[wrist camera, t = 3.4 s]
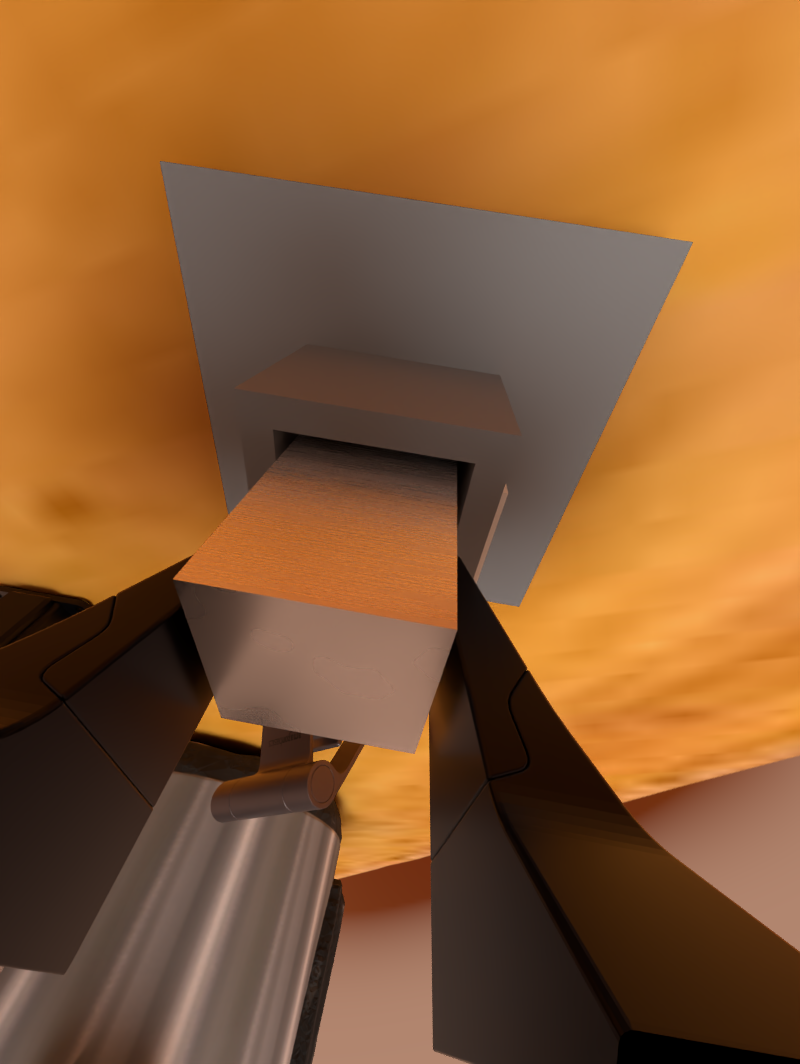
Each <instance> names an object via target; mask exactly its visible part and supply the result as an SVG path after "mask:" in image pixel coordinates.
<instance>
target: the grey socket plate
mask: <svg viewBox="0 0 800 1064" xmlns="http://www.w3.org/2000/svg"><path fill="white" fill-rule="evenodd" d="M160 165H161V170H162V175H163V180H164V185H165V190H166V196H167V201H168V206H169V211H170V216H171V221H172V226H173V232H174V237H175V242H176V247H177V252H178V257H179V262H180V268H181V273H182V278H183V283H184V288H185V293H186V298H187V304H188V309H189V314H190V319H191V324H192V329H193V334H194V339H195V345H196V350H197V355H198V360H199V365H200V370H201V375H202V381H203V386H204V391H205V396H206V401H207V406H208V411H209V417H210V422H211V427H212V432H213V437H214V442H215V447H216V453H217V458H218V463H219V468H220V473H221V478H222V483H223V489H224V494H225V499H226V504H227V509H228V514H230V513H231V512H232V511H233V509H234V508H235V507H236V506H237V505H238V504H239V503H240V501H241V500H242V499H243V498H244V497H245V496H246V495H247V493H248V492H249V491H250V490H251V489H252V488H253V486H254V485H255V484H256V483H257V482H258V481H259V480H260V478H261V477H262V476H263V475H264V474H265V473H266V472H267V470H268V469H269V468H270V467H271V466H272V465H273V464H274V462H275V461H276V460H277V459H278V458H279V457H280V456H281V454H282V453H283V452H284V451H285V450H286V449H287V448H288V446H289V445H290V444H291V443H292V442H293V441H294V440H295V438H296V437H297V436H298V435H299V434H302V435H308V436H314V437H320V438H326V439H332V440H338V441H344V442H350V443H356V444H362V445H368V446H374V447H380V448H385V449H391V450H397V451H403V452H409V453H415V454H421V455H427V456H433V457H439V458H445V459H451V460H457V556H459V557H460V558H461V559H462V561H463V563H464V564H465V566H466V568H467V569H468V571H469V573H470V574H471V576H472V578H473V579H474V581H475V583H476V584H477V586H478V587H479V589H480V591H481V592H482V594H483V596H484V597H485V599H486V601H490V602H495V603H501V604H507V605H512V606H518V607H519V606H520V604H521V602H522V599H523V597H524V595H525V593H526V591H527V589H528V587H529V585H530V583H531V581H532V578H533V576H534V574H535V572H536V570H537V568H538V566H539V564H540V562H541V560H542V558H543V555H544V553H545V551H546V549H547V547H548V545H549V543H550V541H551V539H552V537H553V534H554V532H555V530H556V528H557V526H558V524H559V522H560V520H561V518H562V516H563V514H564V511H565V509H566V507H567V505H568V503H569V501H570V499H571V497H572V495H573V493H574V490H575V488H576V486H577V484H578V482H579V480H580V478H581V476H582V474H583V472H584V470H585V467H586V465H587V463H588V461H589V459H590V457H591V455H592V453H593V451H594V449H595V446H596V444H597V442H598V440H599V438H600V436H601V434H602V432H603V430H604V428H605V426H606V423H607V421H608V419H609V417H610V415H611V413H612V411H613V409H614V407H615V405H616V402H617V400H618V398H619V396H620V394H621V392H622V390H623V388H624V386H625V384H626V382H627V379H628V377H629V375H630V373H631V371H632V369H633V367H634V365H635V363H636V361H637V358H638V356H639V354H640V352H641V350H642V348H643V346H644V344H645V342H646V340H647V338H648V335H649V333H650V331H651V329H652V327H653V325H654V323H655V321H656V319H657V317H658V314H659V312H660V310H661V308H662V306H663V304H664V302H665V300H666V298H667V296H668V294H669V291H670V289H671V287H672V285H673V283H674V281H675V279H676V277H677V275H678V273H679V271H680V268H681V266H682V264H683V262H684V260H685V258H686V256H687V254H688V252H689V250H690V247H691V245H692V243H693V242H688V241H682V240H675V239H669V238H662V237H656V236H649V235H643V234H636V233H629V232H623V231H616V230H610V229H603V228H597V227H590V226H583V225H577V224H570V223H564V222H557V221H551V220H544V219H538V218H531V217H524V216H518V215H511V214H505V213H498V212H492V211H485V210H478V209H472V208H465V207H459V206H452V205H446V204H439V203H432V202H426V201H419V200H413V199H406V198H400V197H393V196H387V195H380V194H373V193H367V192H360V191H354V190H347V189H341V188H334V187H327V186H321V185H314V184H308V183H301V182H295V181H288V180H281V179H275V178H268V177H262V176H255V175H249V174H242V173H236V172H229V171H222V170H216V169H209V168H203V167H196V166H190V165H183V164H176V163H170V162H163V161H160Z"/></svg>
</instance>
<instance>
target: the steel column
mask: <svg viewBox="0 0 800 1064" xmlns="http://www.w3.org/2000/svg"><path fill="white" fill-rule="evenodd" d="M173 582H174V585H175V588H176V590H177V593H178V596H179V599H180V602H181V605H182V607H183V610H184V613H185V616H186V619H187V622H188V624H189V627H190V630H191V633H192V636H193V639H194V641H195V644H196V647H197V650H198V653H199V656H200V658H201V661H202V664H203V667H204V670H205V673H206V675H207V678H208V681H209V684H210V687H211V690H212V692H213V695H214V698H215V701H216V704H217V707H218V709H219V712H220V715H221V718H225V719H230V720H236V721H241V722H246V723H252V724H257V725H263V726H268V727H273V728H279V729H284V730H289V731H295V732H300V733H305V734H311V735H316V736H321V737H327V738H332V739H338V740H343V741H348V742H354V743H359V744H364V745H370V746H375V747H380V748H386V749H391V750H397V751H402V752H407V753H413V754H415V751H416V748H417V745H418V742H419V740H420V737H421V734H422V731H423V728H424V725H425V722H426V719H427V716H428V713H429V711H430V708H431V705H432V702H433V699H434V696H435V693H436V690H437V687H438V684H439V682H440V679H441V676H442V673H443V670H444V667H445V664H446V661H447V658H448V655H449V653H450V650H451V647H452V644H453V641H454V638H455V635H456V632H457V460H451V459H445V458H439V457H433V456H427V455H421V454H415V453H409V452H403V451H397V450H391V449H385V448H380V447H374V446H368V445H362V444H356V443H350V442H344V441H338V440H332V439H326V438H320V437H314V436H308V435H302V434H299V435H298V436H297V437H296V438H295V440H294V441H293V442H292V443H291V444H290V445H289V446H288V448H287V449H286V450H285V451H284V452H283V453H282V454H281V456H280V457H279V458H278V459H277V460H276V461H275V462H274V464H273V465H272V466H271V467H270V468H269V469H268V470H267V472H266V473H265V474H264V475H263V476H262V477H261V478H260V480H259V481H258V482H257V483H256V484H255V485H254V486H253V488H252V489H251V490H250V491H249V492H248V493H247V495H246V496H245V497H244V498H243V499H242V500H241V501H240V503H239V504H238V505H237V506H236V507H235V508H234V509H233V511H232V512H231V513H230V514H229V515H228V516H227V517H226V519H225V520H224V521H223V522H222V523H221V524H220V525H219V527H218V528H217V529H216V530H215V531H214V532H213V533H212V535H211V536H210V537H209V538H208V539H207V540H206V541H205V543H204V544H203V545H202V546H201V547H200V548H199V549H198V551H197V552H196V553H195V554H194V555H193V556H192V557H191V559H190V560H189V561H188V562H187V563H186V564H185V565H184V567H183V568H182V569H181V570H180V571H179V572H178V573H177V575H176V576H175V577H174V578H173Z"/></svg>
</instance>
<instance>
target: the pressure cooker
mask: <svg viewBox="0 0 800 1064" xmlns="http://www.w3.org/2000/svg"><path fill="white" fill-rule="evenodd" d="M260 758H261V757H258V756H252V755H239V754H235V753H232V752H229V751H225V750H222V749H219V748H215V747H212V746H209V745H205V744H202V743H198V742H193V741H189V743H188V744H187V746H186V748H185V750H184V752H183V754H182V756H181V758H180V760H179V761H178V763H177V765H176V767H175V769H174V771H173V773H172V775H171V777H170V778H169V780H168V782H167V784H166V786H165V788H164V790H163V792H162V793H161V795H160V797H159V799H158V801H157V803H156V805H155V806H154V807H153V811H152V813H151V815H150V817H149V818H148V820H147V822H146V824H145V826H144V828H143V830H142V832H141V834H140V835H139V837H138V839H137V841H136V843H135V845H134V847H133V849H132V851H131V852H130V854H129V856H128V858H127V860H126V862H125V864H124V866H123V868H122V869H121V871H120V873H119V875H118V877H117V879H116V881H115V883H114V884H113V886H112V888H111V890H110V892H109V894H108V896H107V898H106V900H105V901H104V903H103V905H102V907H101V909H100V911H99V913H98V915H97V917H96V918H95V920H94V922H93V924H92V926H91V928H90V930H89V932H88V934H87V935H86V937H85V939H84V941H83V943H82V945H81V947H80V949H79V950H78V952H77V954H76V956H75V958H74V960H73V961H72V963H71V965H70V967H69V968H68V970H67V972H66V973H65V974H64V975H58V974H51V973H44V972H37V971H29V970H22V969H15V968H8V967H4V968H3V970H2V971H1V973H0V1064H312V1060H313V1056H314V1052H315V1047H316V1042H317V1035H318V1031H319V1027H320V1021H321V1017H322V1013H323V1007H324V1003H325V999H326V994H327V990H328V986H329V981H330V975H331V970H332V967H333V963H334V957H335V952H336V947H337V942H338V938H339V933H340V928H341V922H342V917H343V912H344V906H345V902H344V898H343V894H342V883H341V881H340V880H337V879H334V874H335V869H336V864H337V859H338V855H339V850H340V843H341V839H342V835H341V819H340V814H339V811H338V808H337V805H336V803H335V801H334V800H333V801H332V802H331V804H330V805H329V806H328V807H326V808H324V809H319V810H311V811H304V812H296V813H289V814H282V815H274V816H267V817H260V818H253V819H246V820H239V821H232V822H224V823H221V822H218V821H216V820H215V819H214V818H213V816H212V813H211V806H210V805H211V799H212V796H213V794H214V792H215V790H216V789H217V788H218V787H219V785H221V784H222V783H224V782H226V781H230V780H234V779H239V778H243V777H248V776H252V775H255V774H256V773H257V772H258V770H259V767H260Z"/></svg>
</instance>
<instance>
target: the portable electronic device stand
mask: <svg viewBox="0 0 800 1064" xmlns="http://www.w3.org/2000/svg"><path fill="white" fill-rule="evenodd" d="M341 743H342V740H338V739H332V738H327V737H321V736H316V735H311V734H305V733H300V732H295V731H289V730H284V729H279V728H273V727H268V726H263V732H262V745H261V758H260V767H259V770H258V772H257V773H256V774H255V775H252V776H248V777H243V778H239V779H234V780H230V781H226V782H224V783H222V784H221V785H219V787H218V788H217V789H216V790H215V792H214V794H213V796H212V799H211V805H210V806H211V813H212V816H213V818H214V819H215V820H216V821H218V822H221V823H224V822H232V821H239V820H246V819H253V818H260V817H267V816H274V815H282V814H289V813H296V812H304V811H311V810H319V809H324V808H326V807H328V806H329V805H330V804H331V802H332V801H333V799H334V797H335V796H336V794H337V792H338V790H339V789H340V787H341V785H342V784H343V782H344V780H345V778H346V777H347V775H348V773H349V771H350V770H351V768H352V766H353V764H354V763H355V761H356V759H357V757H358V755H359V754H360V752H361V750H362V748H363V747H364V744H359V743H354V742H348V741H343V743H342V745H341ZM340 745H341V746H340ZM338 746H340V748H339V749H338V751H337V752H336V754H335V756H334V757H333V759H332V760H331V762H330V763H329V762H328V761H326V760H320V761H315V762H313V752H317V751H321V750H325V749H330V748H334V747H338Z"/></svg>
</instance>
